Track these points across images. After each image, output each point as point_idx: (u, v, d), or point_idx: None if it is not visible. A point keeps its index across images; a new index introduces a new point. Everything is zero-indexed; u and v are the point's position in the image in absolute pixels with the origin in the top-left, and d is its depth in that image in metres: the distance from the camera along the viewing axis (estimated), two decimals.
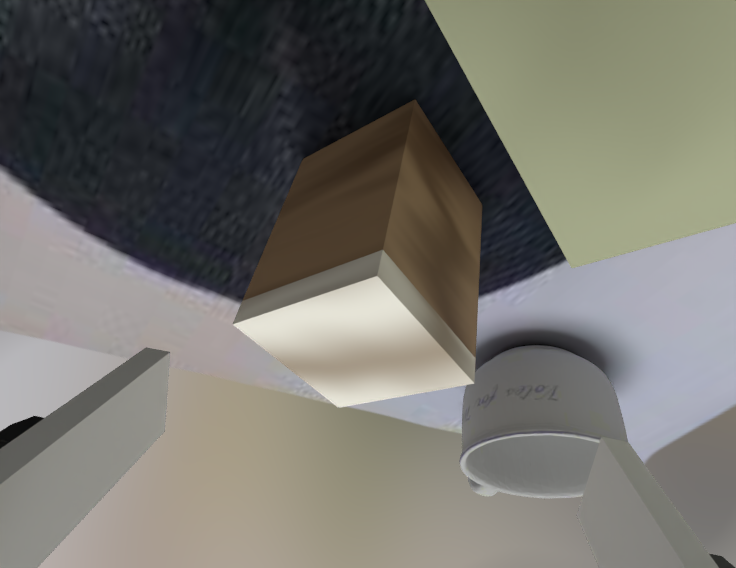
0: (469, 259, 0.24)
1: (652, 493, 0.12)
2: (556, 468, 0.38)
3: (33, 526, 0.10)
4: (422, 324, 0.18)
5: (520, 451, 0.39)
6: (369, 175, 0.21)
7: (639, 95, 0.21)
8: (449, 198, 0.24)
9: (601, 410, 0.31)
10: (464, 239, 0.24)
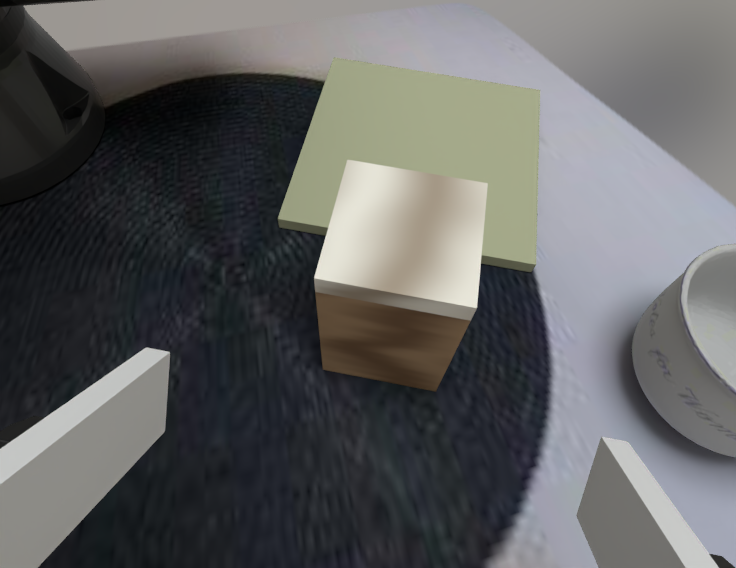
0: None
1: (652, 493, 0.12)
2: None
3: (33, 526, 0.10)
4: (404, 170, 0.25)
5: None
6: None
7: None
8: None
9: None
10: None
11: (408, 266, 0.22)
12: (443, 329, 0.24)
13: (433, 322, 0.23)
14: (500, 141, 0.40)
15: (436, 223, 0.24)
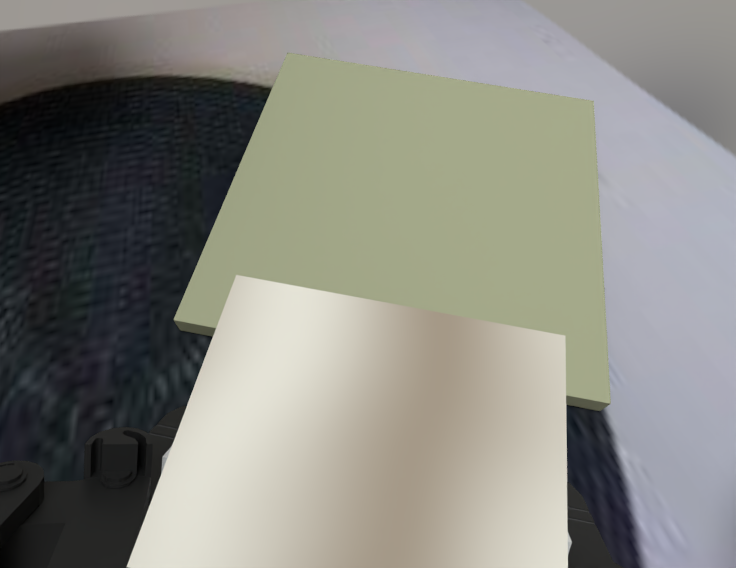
0: None
1: None
2: None
3: None
4: (368, 301, 0.11)
5: None
6: None
7: (414, 250, 0.23)
8: None
9: None
10: None
11: None
12: None
13: None
14: (538, 182, 0.26)
15: (444, 461, 0.09)
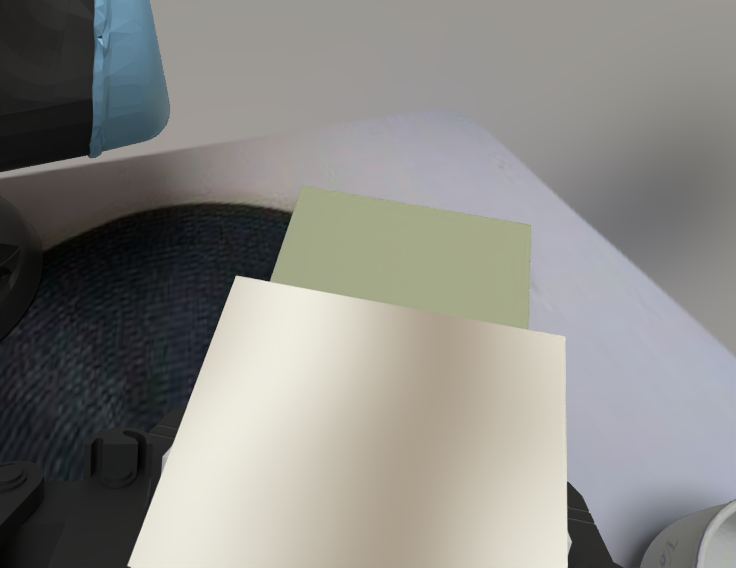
0: None
1: None
2: None
3: None
4: (368, 302, 0.11)
5: None
6: None
7: None
8: None
9: (715, 507, 0.25)
10: None
11: None
12: None
13: None
14: (485, 295, 0.36)
15: (444, 462, 0.09)
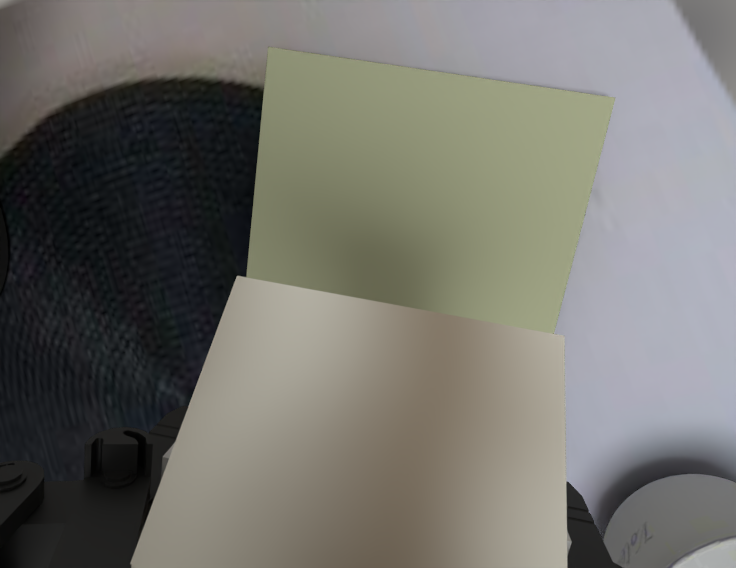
0: None
1: None
2: None
3: None
4: (369, 301, 0.11)
5: None
6: None
7: (403, 301, 0.29)
8: None
9: (704, 511, 0.26)
10: None
11: None
12: None
13: None
14: (523, 224, 0.28)
15: (444, 461, 0.09)
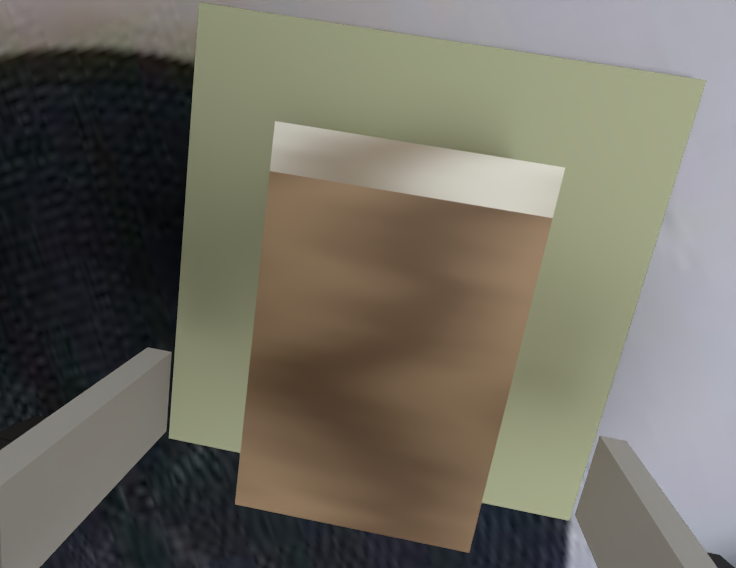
0: None
1: (650, 492, 0.12)
2: None
3: (35, 526, 0.10)
4: None
5: None
6: None
7: None
8: None
9: None
10: None
11: None
12: (500, 264, 0.13)
13: (481, 239, 0.13)
14: (564, 261, 0.19)
15: None
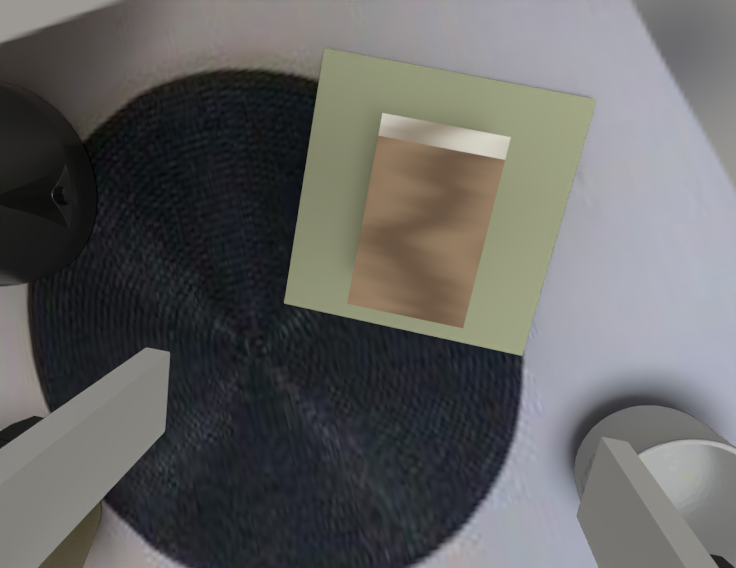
0: None
1: (652, 493, 0.12)
2: None
3: (33, 526, 0.10)
4: None
5: (702, 537, 0.35)
6: None
7: None
8: None
9: (653, 426, 0.33)
10: None
11: None
12: (481, 180, 0.28)
13: (473, 169, 0.28)
14: (521, 197, 0.35)
15: None
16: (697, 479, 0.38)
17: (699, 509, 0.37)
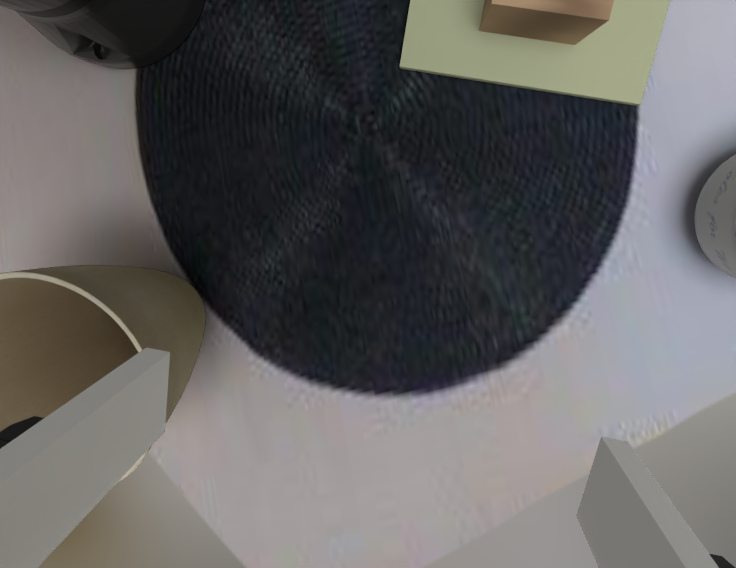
0: None
1: (652, 493, 0.12)
2: None
3: (33, 526, 0.10)
4: None
5: None
6: None
7: None
8: None
9: None
10: None
11: None
12: None
13: None
14: None
15: None
16: None
17: None
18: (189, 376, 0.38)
